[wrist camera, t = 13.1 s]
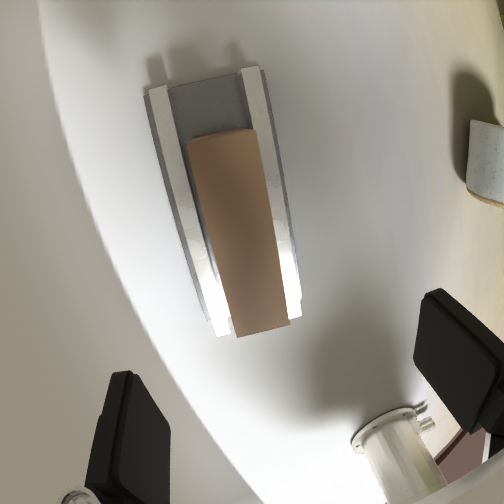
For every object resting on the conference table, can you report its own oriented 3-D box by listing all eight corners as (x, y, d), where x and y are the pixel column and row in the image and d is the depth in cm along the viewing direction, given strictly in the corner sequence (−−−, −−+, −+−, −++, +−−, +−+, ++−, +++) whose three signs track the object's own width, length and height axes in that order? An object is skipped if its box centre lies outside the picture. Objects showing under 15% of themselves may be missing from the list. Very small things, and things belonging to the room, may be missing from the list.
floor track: (260, 71, 21) (270, 64, 18) (299, 292, 30) (310, 313, 27) (145, 96, 21) (136, 93, 18) (206, 315, 29) (208, 338, 26)
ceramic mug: (451, 192, 28) (503, 215, 21) (456, 116, 25) (512, 125, 18) (502, 192, 30) (546, 211, 23) (507, 129, 26) (555, 140, 19)
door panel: (238, 127, 22) (256, 130, 15) (266, 268, 27) (290, 324, 20) (191, 137, 22) (186, 145, 15) (226, 278, 27) (237, 337, 20)
